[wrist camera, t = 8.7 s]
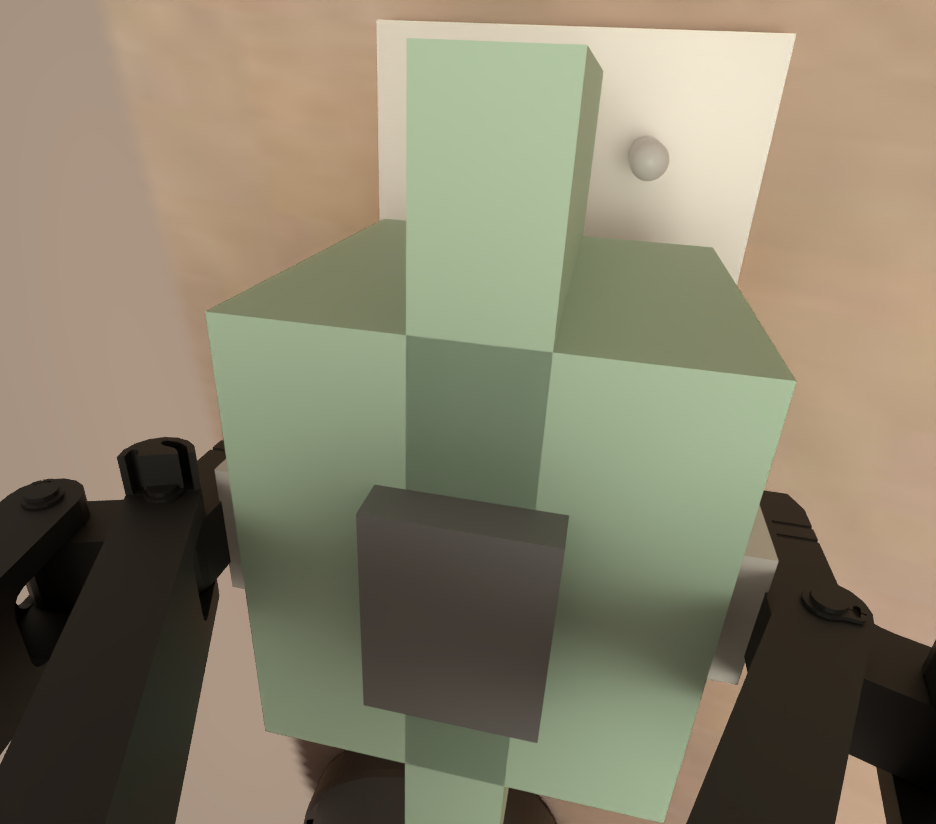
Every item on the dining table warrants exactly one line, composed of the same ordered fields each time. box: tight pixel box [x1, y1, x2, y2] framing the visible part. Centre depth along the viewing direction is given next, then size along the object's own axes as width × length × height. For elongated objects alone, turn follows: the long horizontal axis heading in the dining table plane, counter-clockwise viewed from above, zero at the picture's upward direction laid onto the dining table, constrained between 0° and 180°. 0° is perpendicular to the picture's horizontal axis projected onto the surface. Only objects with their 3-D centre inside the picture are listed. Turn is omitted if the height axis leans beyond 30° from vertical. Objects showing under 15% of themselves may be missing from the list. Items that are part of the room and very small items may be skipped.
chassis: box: [377, 20, 796, 285], centre depth 22 cm, size 19×12×5 cm, turn 177°
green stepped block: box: [205, 38, 797, 824], centre depth 14 cm, size 16×8×9 cm, turn 177°
